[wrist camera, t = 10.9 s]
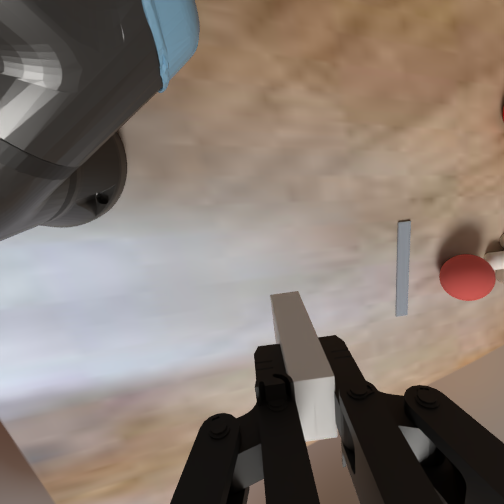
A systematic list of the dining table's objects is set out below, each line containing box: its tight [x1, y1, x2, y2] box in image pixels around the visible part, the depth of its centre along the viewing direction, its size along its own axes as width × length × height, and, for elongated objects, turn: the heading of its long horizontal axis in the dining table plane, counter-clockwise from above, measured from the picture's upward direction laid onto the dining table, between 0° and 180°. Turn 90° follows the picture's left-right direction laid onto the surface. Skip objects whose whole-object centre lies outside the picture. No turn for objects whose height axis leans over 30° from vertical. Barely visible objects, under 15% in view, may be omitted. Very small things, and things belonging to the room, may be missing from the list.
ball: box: [439, 254, 496, 301], centre depth 41 cm, size 6×6×6 cm
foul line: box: [396, 221, 411, 316], centre depth 43 cm, size 14×2×1 cm, turn 7°
